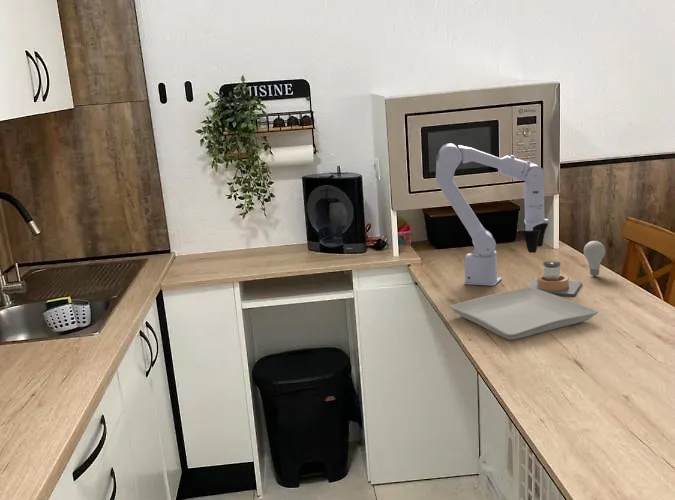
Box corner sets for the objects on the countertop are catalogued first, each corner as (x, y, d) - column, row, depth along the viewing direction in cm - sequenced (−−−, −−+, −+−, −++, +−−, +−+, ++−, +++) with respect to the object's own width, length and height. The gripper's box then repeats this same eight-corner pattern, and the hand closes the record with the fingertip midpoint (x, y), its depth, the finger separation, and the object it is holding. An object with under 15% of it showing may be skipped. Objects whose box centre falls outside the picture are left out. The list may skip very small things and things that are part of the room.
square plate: (447, 318, 194) (446, 304, 193) (530, 298, 204) (530, 285, 203) (509, 348, 170) (508, 332, 169) (600, 324, 180) (600, 309, 179)
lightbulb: (606, 279, 214) (606, 243, 212) (585, 279, 216) (584, 243, 213) (603, 273, 220) (603, 238, 218) (582, 274, 221) (582, 239, 219)
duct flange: (523, 293, 208) (523, 282, 207) (533, 281, 218) (533, 271, 217) (573, 296, 201) (573, 285, 200) (582, 284, 211) (581, 273, 210)
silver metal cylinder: (542, 288, 208) (542, 265, 207) (544, 283, 212) (544, 260, 211) (559, 288, 206) (559, 265, 205) (561, 284, 211) (561, 261, 209)
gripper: (542, 209, 207) (543, 255, 210) (553, 200, 219) (554, 244, 223) (517, 209, 211) (519, 254, 214) (530, 200, 223) (531, 243, 226)
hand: (535, 249), depth 218 cm, fingers open, 7 cm apart
